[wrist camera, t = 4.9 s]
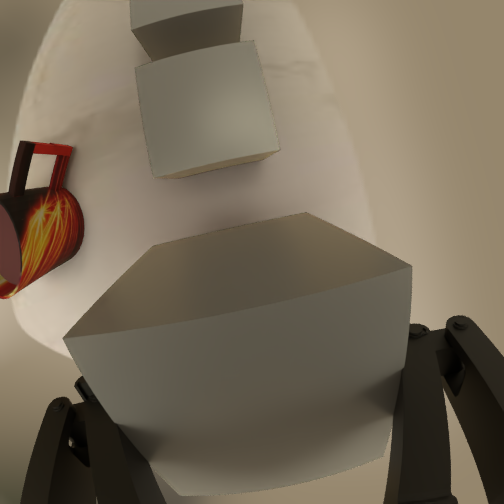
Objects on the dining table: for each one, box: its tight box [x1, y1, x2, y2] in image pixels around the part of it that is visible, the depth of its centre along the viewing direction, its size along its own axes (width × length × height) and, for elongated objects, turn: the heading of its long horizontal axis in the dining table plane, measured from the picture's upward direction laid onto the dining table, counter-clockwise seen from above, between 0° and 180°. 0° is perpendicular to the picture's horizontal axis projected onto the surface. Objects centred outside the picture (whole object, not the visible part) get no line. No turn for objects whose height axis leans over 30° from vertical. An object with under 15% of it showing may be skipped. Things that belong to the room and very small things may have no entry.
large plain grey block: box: [63, 212, 412, 496], centre depth 12 cm, size 9×9×10 cm
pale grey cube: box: [130, 0, 243, 62], centre depth 18 cm, size 9×9×10 cm
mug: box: [0, 141, 84, 299], centre depth 21 cm, size 10×14×12 cm
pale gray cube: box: [135, 40, 280, 178], centre depth 22 cm, size 9×9×10 cm
